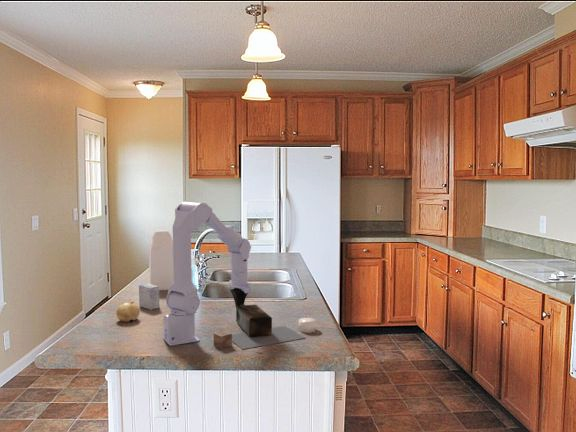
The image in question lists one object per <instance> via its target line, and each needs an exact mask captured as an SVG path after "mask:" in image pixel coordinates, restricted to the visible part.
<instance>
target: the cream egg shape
mask: <svg viewBox="0 0 576 432" xmlns="http://www.w3.org/2000/svg"><path fill="white" fill-rule="evenodd" d="M316 331H317V320H316V318H312V317H302V318H299V319H298V332H300V333H305V334H312V332H313V333H316Z"/></svg>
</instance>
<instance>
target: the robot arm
mask: <svg viewBox="0 0 576 432" xmlns="http://www.w3.org/2000/svg"><path fill="white" fill-rule="evenodd" d="M174 216H175V217H174V220H173V225H172V240H173V262H174V283H173V284H172V285H171V286H170V287H169V288H168V290H167V295H166V299H165V303H166V306H167V307H168V309H169V311H170V313H168V314H165V315H164V316H163V338H162V339H163V340H164V341H165V342H166V344H168V345H169V346H179V345H183V344H189V343H196V342H200V339H199V338H198V337H197V336H196V326H195V325H196V322H195V319H196V318H195V317H196V315H195V314H196V313H197V311H198V309H199V307H200V302H201V301H200V296H199V295H198V288H197V287H196V286H195V284H194V283H193V277H192V276H193V275H192V239H191V238H192V237H191V235H192V232H193V231H194V230H195V229H197V228H198V227H200V226H202V225H203V224H206V225H207V226H208V227H210V229H212V230H214V231H215V232H216V234H217V238H218V239H219V240H220V241H221V242H222V243H224V244H225V245H226V247H227V250H228V252H229V253H230V255H231V256H230V257H231V258H230V263H231V266H230V268H231V271H230V272H231V274H230V275H231V279H229V280H228V282H229V283H228V284H229V286H230V287H232V288H230V292H231V294H232V297H233V300H234V305H235V307H236V306H240V305H241V304H244V305H245V301H246V298H247V297H248V296H247V295H248V294H251V286H250V285H251V282H250V281H248V260H249V257H250V252H251V251H252V250H251V249H252V245H251V243H250V241H249V240H248V239H247V238H245V237H244V238H243V237H242V234H240V233H238V232H237V231H236V230H235V229H234V226H232V225H228V224H227V225H225V223H223V222H222V220H221V219H220V218H219V217H218V216H217V215H216V214H215V213H214V212H213V208H212V207H211V206H209V204H208V203H206V202H191V201H181V202H180V203H179V204H178V206H176V207H175V208H174Z"/></svg>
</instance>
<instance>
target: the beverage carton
mask: <svg viewBox="0 0 576 432" xmlns="http://www.w3.org/2000/svg"><path fill="white" fill-rule="evenodd" d="M235 308H236V310H235V318H236V319H235V321H236V323H237V324H238V325H239V326H240V328H241V329H242V330H243V331H244V333H245V332H246V333H247V334H248V335H249V336H264V335H271V333H272V328H273V326H272V325H273V318H272V316H270V315H269V314H268V313H267V312H265V310H263V309H262V308H261V307H259V305H258V304H245V303H244V304H241V305H240V306H236V305H235Z"/></svg>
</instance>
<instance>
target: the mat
mask: <svg viewBox="0 0 576 432" xmlns="http://www.w3.org/2000/svg"><path fill="white" fill-rule="evenodd" d="M303 339H306V337H305V336H303V335H302V334H300V333H298V332H296V331H294V330H292V329H291V328H289V327H287V326H286V325H283V326H277V327H272V333H271V335H264V336H249V335H248V334H247V333H246V332H245V331H244V332H241V333H240V332H239V333H232V344H235V345H236V346H237V347H239V348H240V349H241V350H247V349H248V350H249V349H253V348H260V347H264V346H270V345H275V344H276V345H277V344H282V343H287V342H292V341H297V340H303Z"/></svg>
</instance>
